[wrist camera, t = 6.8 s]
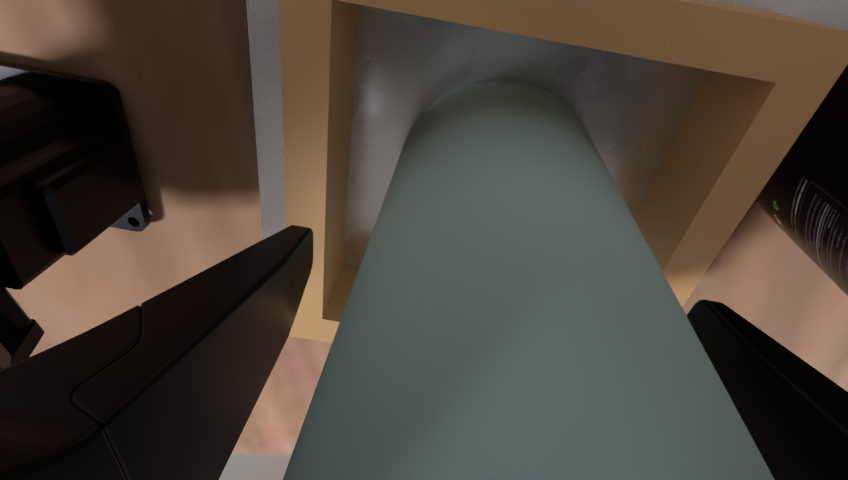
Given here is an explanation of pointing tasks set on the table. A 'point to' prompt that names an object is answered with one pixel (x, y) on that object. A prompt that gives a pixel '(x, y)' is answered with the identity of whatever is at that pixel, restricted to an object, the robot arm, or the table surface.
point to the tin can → (514, 321)
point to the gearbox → (546, 69)
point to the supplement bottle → (816, 187)
